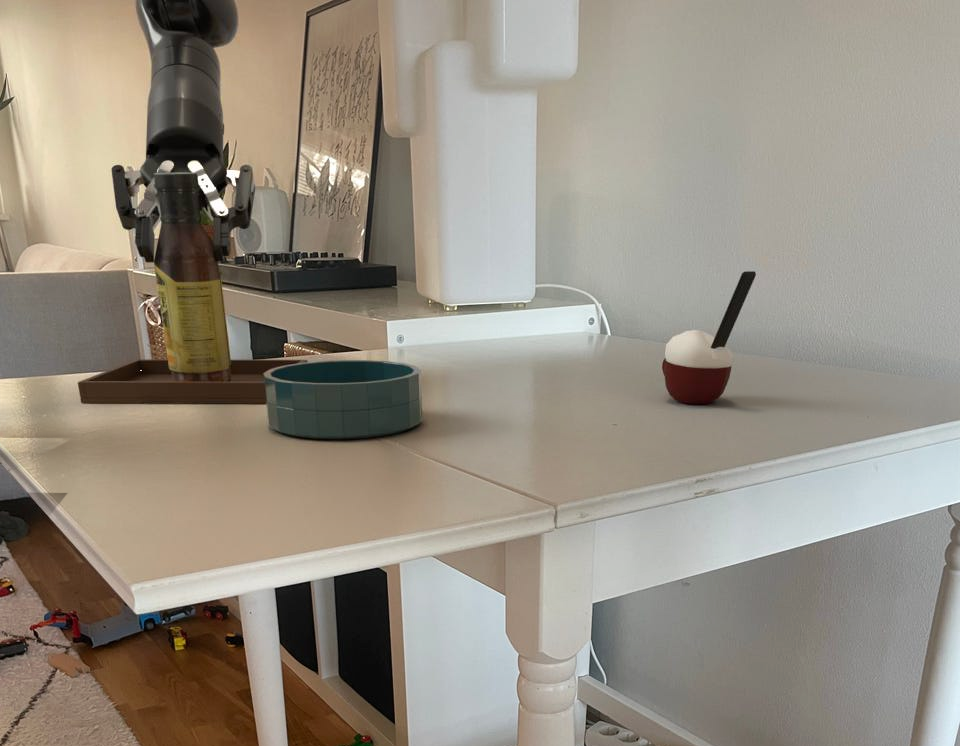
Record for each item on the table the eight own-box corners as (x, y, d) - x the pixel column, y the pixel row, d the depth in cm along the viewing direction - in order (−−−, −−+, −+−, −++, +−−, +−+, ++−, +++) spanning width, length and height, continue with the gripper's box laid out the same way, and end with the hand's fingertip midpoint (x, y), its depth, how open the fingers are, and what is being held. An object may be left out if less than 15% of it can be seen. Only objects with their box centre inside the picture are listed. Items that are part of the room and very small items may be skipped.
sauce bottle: (182, 379, 104) (155, 173, 96) (240, 379, 104) (218, 172, 95) (161, 390, 98) (131, 171, 90) (223, 390, 98) (198, 171, 89)
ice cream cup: (648, 394, 97) (657, 266, 92) (708, 392, 98) (719, 265, 93) (683, 413, 88) (694, 272, 83) (748, 410, 89) (763, 271, 84)
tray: (80, 403, 94) (77, 382, 93) (138, 377, 108) (135, 359, 107) (276, 403, 93) (274, 382, 93) (309, 378, 107) (307, 359, 106)
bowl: (251, 440, 79) (245, 384, 77) (288, 409, 91) (283, 359, 89) (413, 441, 78) (411, 384, 76) (428, 409, 90) (427, 360, 88)
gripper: (103, 94, 95) (95, 228, 90) (251, 95, 97) (254, 226, 91) (122, 156, 102) (117, 284, 97) (261, 156, 104) (263, 282, 98)
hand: (183, 255), depth 94 cm, fingers closed on sauce bottle, 6 cm apart
